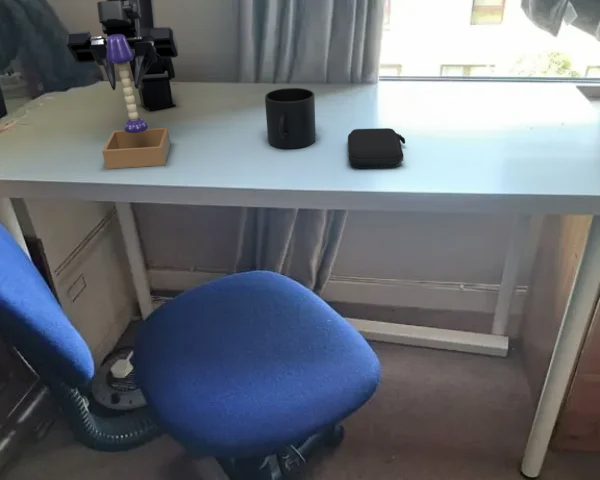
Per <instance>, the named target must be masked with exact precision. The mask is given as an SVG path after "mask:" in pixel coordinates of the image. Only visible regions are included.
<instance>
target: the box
mask: <svg viewBox="0 0 600 480" xmlns="http://www.w3.org/2000/svg"><path fill="white" fill-rule="evenodd" d="M169 131H170V130H169V127H159V128H158V127H156V128H155V127H154V128H147V130H145V131H143V132H139V133H128V132H126V131H125V129H124V130H112V131H111V134H110V135H109V136H108V139H107V140H106V143H105V145H104V147H103V148H102V151H101V152H102V156H103V161H104V165H105V169H106V170H113V169H114V170H115V169H128V168H131V169H132V168H144V167H145V168H147V167H159V166H160V167H162V166H166V162H167V159H168V156H169V152H170V149H171V145H172V143H171V138H170V132H169Z"/></svg>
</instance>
